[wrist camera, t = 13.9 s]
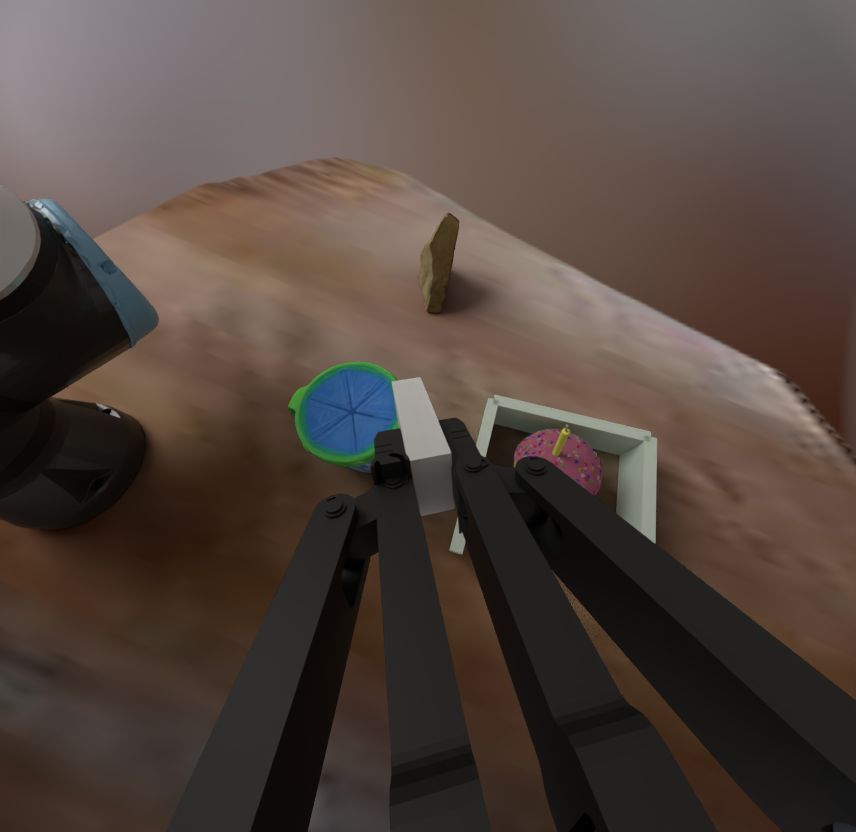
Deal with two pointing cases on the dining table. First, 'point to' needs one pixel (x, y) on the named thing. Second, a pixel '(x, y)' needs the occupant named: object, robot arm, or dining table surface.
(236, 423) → the dining table surface
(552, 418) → the tray
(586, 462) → the cupcake
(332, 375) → the snack cup
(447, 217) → the rock
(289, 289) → the dining table surface
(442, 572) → the dining table surface
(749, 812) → the dining table surface
